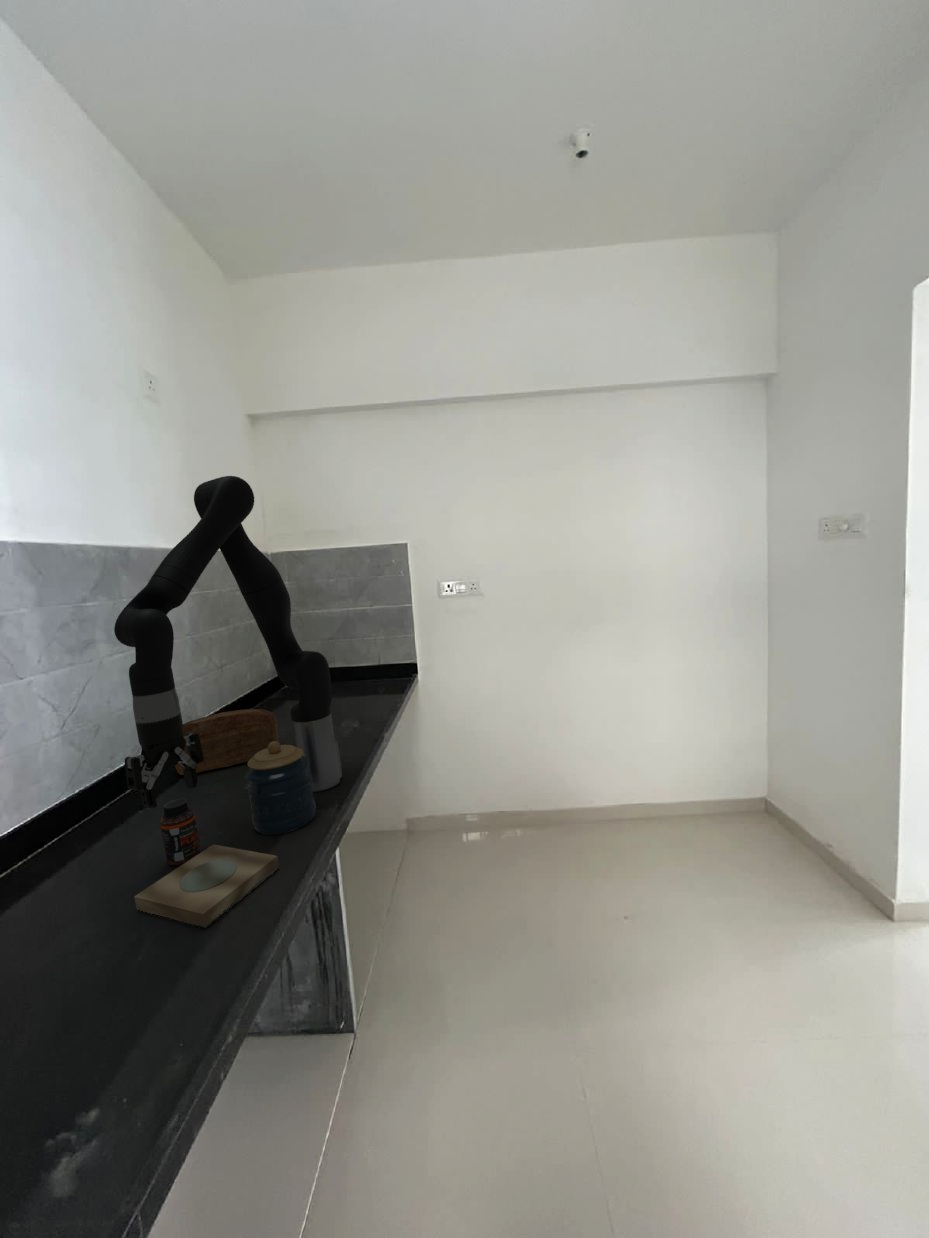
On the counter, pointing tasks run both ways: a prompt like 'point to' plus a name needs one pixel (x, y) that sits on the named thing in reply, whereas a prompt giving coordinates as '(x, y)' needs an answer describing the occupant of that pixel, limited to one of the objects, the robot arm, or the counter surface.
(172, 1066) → the counter surface
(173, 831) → the supplement bottle
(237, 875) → the oak board
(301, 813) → the canister
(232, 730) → the bread
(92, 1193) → the counter surface
